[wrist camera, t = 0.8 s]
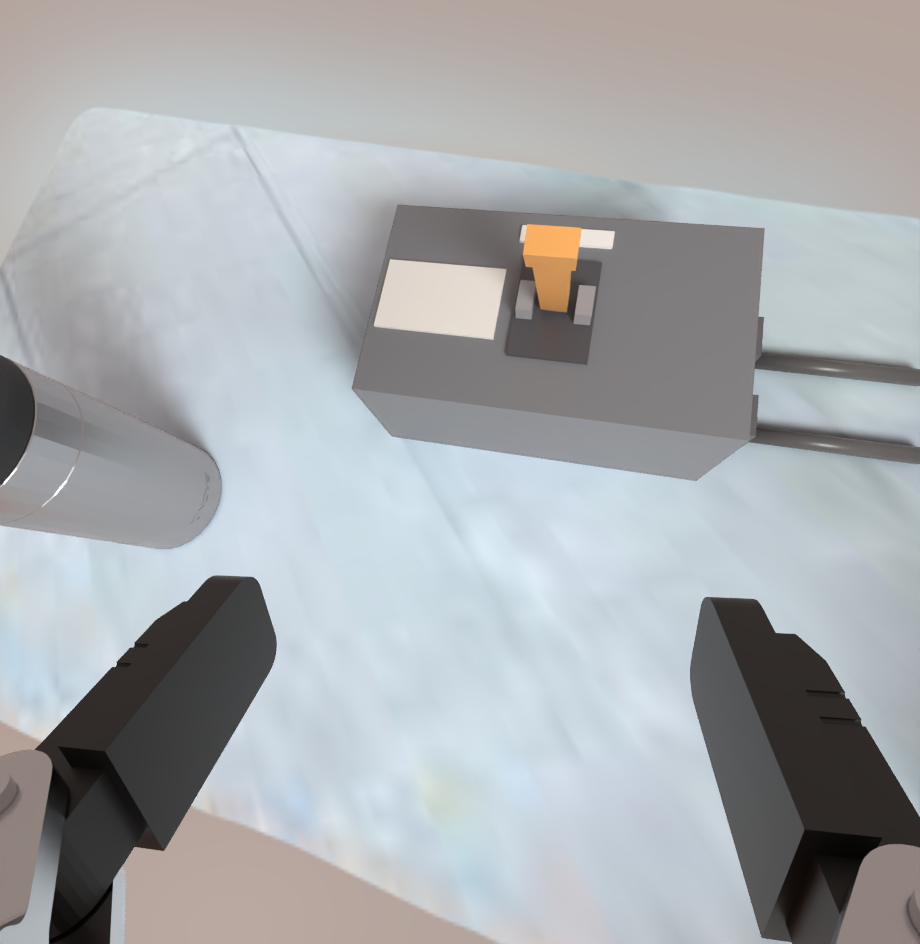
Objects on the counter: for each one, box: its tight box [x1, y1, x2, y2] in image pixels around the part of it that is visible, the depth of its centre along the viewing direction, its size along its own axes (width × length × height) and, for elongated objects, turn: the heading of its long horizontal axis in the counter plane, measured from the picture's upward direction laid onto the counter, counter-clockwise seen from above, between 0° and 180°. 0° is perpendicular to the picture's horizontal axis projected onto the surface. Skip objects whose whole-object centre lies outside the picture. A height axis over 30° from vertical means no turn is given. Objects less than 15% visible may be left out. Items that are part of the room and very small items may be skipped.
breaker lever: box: [523, 224, 581, 313], centre depth 27 cm, size 2×1×12 cm, turn 79°
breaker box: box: [352, 205, 920, 481], centre depth 36 cm, size 39×14×11 cm, turn 79°
